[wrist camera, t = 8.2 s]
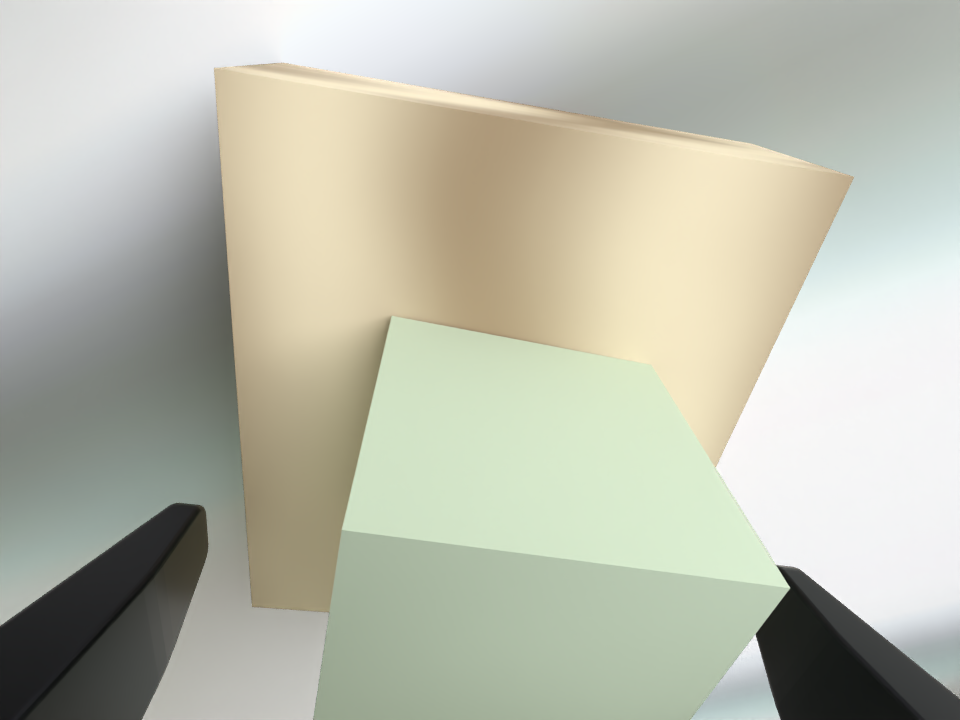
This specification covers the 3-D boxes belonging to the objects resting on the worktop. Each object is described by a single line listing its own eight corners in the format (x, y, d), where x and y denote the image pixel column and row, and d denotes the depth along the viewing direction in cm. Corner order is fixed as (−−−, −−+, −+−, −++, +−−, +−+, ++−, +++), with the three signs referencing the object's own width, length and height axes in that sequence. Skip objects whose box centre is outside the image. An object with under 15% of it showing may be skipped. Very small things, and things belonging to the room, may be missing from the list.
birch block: (743, 141, 12) (854, 176, 9) (602, 522, 18) (636, 634, 15) (289, 62, 11) (213, 67, 8) (294, 493, 17) (251, 606, 14)
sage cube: (651, 365, 10) (790, 588, 6) (571, 544, 13) (631, 796, 9) (392, 315, 10) (341, 530, 5) (358, 515, 12) (304, 776, 8)
